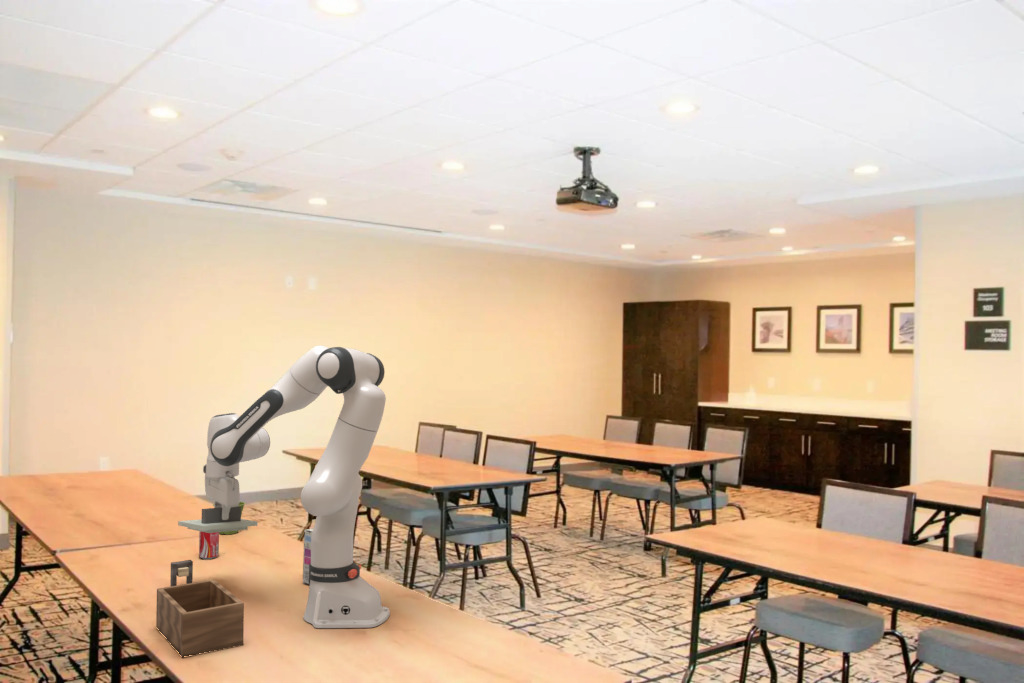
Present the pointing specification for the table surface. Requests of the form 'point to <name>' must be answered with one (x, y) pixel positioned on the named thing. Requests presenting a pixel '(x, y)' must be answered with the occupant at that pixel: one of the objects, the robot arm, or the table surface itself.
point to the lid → (218, 521)
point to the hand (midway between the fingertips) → (221, 517)
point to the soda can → (208, 545)
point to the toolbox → (198, 614)
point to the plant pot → (241, 504)
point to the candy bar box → (307, 555)
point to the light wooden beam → (182, 571)
